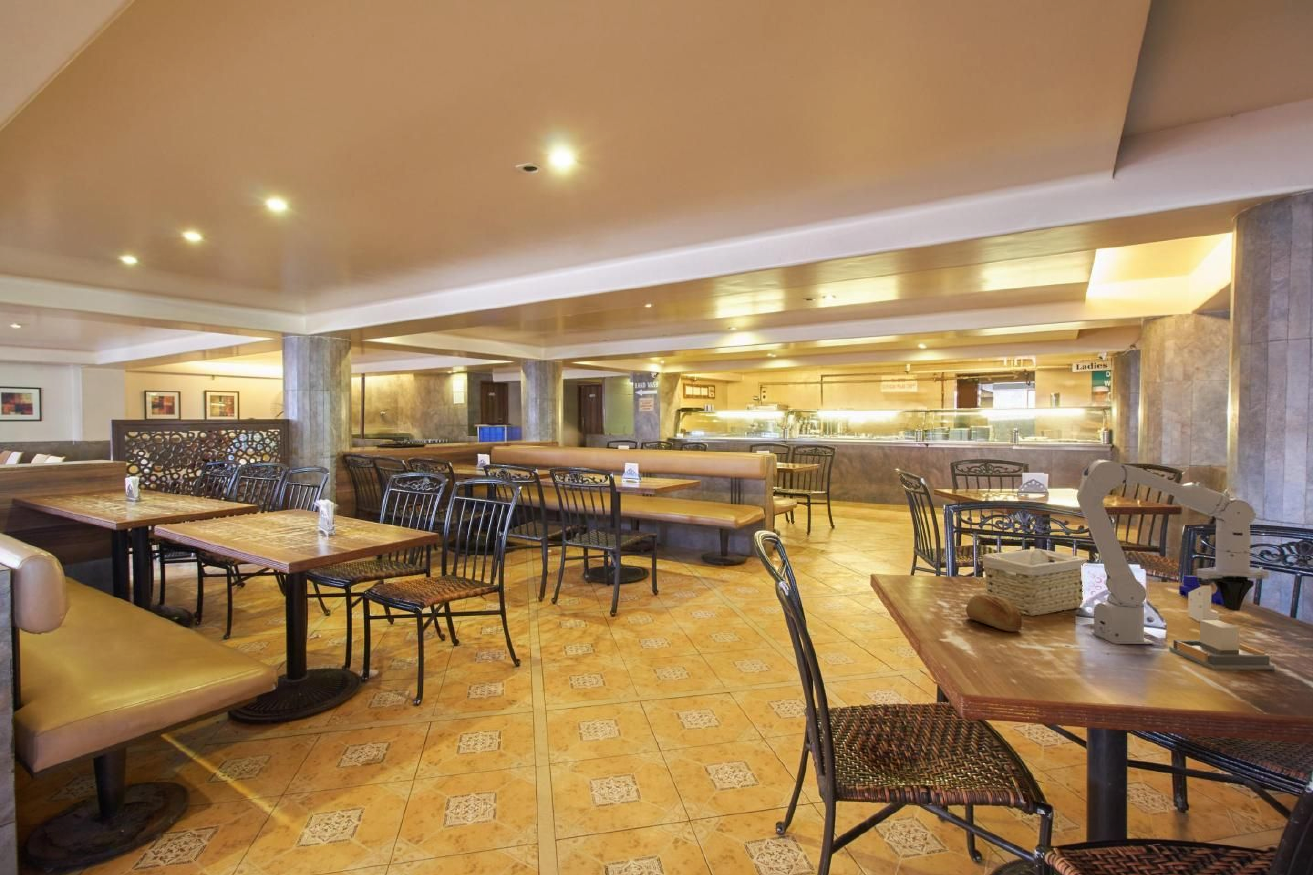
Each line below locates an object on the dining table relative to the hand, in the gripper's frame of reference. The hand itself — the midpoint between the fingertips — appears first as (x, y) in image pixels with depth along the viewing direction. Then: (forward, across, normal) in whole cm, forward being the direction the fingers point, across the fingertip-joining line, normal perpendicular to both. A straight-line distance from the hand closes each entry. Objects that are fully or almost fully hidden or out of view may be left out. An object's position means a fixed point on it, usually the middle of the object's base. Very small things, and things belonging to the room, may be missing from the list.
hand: (1232, 609), depth 137 cm
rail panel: (+10, -6, -4) cm, 13 cm away
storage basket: (+10, -23, +36) cm, 44 cm away
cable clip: (+10, +32, +42) cm, 54 cm away
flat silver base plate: (+9, -6, -4) cm, 12 cm away
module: (+8, -6, -4) cm, 11 cm away
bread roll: (+10, -45, +18) cm, 49 cm away
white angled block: (+10, +14, +23) cm, 29 cm away
